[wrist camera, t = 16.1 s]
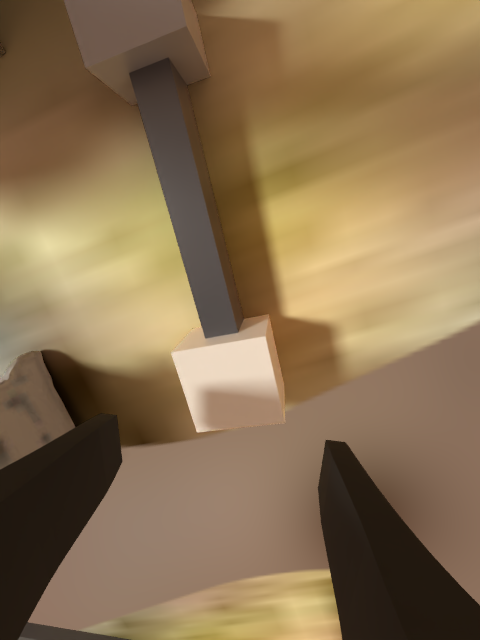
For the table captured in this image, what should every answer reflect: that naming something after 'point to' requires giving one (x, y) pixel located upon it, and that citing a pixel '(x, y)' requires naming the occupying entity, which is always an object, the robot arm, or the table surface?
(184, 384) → the dumbbell with block ends
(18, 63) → the table surface
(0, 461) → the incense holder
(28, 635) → the lantern
